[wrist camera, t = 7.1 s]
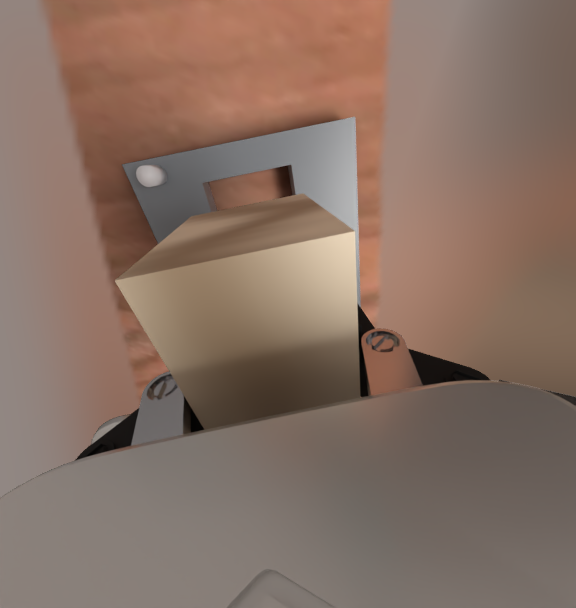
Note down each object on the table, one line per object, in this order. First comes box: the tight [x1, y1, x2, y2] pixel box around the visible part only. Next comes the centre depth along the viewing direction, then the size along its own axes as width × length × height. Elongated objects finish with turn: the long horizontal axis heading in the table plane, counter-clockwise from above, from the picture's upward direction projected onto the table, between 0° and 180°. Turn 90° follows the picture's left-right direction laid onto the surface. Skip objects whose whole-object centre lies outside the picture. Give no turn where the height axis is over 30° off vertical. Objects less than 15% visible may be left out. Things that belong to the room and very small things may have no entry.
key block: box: [115, 193, 360, 430], centre depth 10 cm, size 4×10×6 cm, turn 10°
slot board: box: [122, 117, 361, 308], centre depth 21 cm, size 16×16×4 cm
